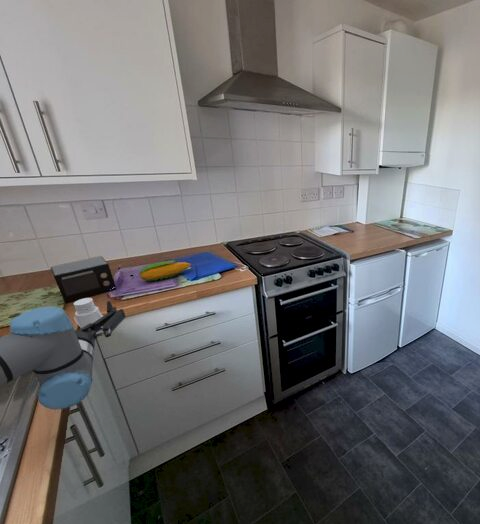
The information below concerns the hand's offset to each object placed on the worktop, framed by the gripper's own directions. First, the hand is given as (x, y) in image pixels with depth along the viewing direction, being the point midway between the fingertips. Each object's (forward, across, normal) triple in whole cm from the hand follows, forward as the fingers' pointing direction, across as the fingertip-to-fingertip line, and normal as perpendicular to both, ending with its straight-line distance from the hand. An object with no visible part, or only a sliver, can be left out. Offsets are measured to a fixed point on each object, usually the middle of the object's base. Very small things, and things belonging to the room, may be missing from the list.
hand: (80, 312), depth 85 cm
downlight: (+13, -1, -12) cm, 18 cm away
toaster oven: (+46, -3, -12) cm, 47 cm away
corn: (+43, +24, -12) cm, 51 cm away
